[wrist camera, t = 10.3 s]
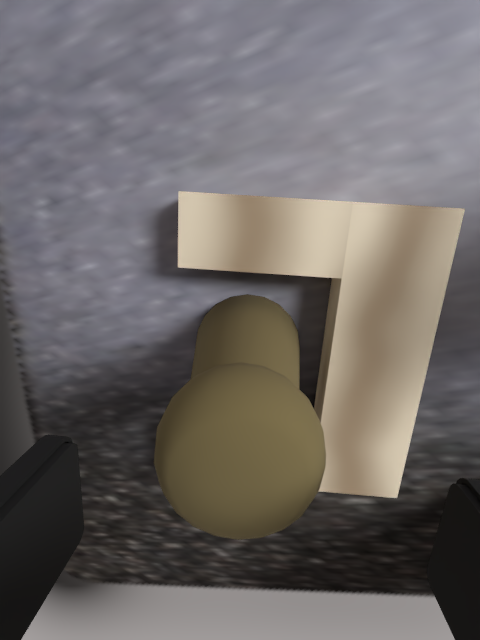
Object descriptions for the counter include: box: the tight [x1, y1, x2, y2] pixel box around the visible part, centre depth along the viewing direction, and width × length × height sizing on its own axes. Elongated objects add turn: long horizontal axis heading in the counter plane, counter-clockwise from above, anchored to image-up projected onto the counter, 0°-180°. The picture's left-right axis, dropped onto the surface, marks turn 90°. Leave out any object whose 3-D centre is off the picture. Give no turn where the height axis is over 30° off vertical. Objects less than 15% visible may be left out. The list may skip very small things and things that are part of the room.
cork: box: [154, 294, 326, 540], centre depth 14 cm, size 6×6×11 cm
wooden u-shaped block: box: [178, 191, 465, 498], centre depth 18 cm, size 13×16×2 cm
